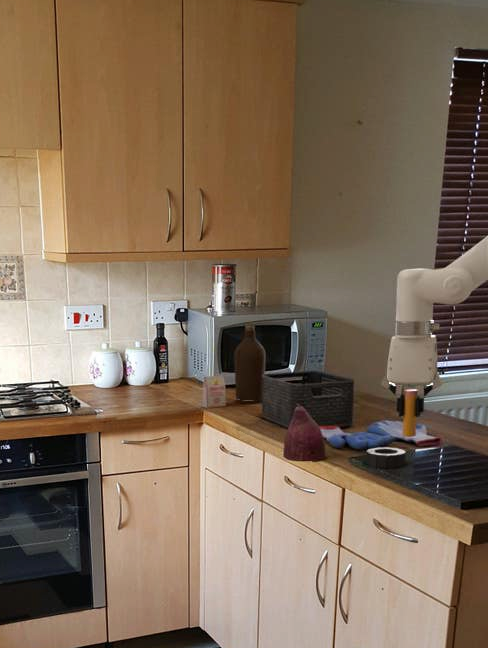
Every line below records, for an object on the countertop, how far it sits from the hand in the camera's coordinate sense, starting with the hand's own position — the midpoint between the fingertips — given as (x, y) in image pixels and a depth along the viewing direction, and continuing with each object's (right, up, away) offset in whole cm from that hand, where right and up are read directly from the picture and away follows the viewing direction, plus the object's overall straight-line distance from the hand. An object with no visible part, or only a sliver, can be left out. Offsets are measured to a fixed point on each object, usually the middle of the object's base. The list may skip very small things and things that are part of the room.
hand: (409, 414), depth 192 cm
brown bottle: (-25, +22, +107) cm, 112 cm away
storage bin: (-12, +9, +68) cm, 70 cm away
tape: (-2, -9, +15) cm, 17 cm away
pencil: (0, -4, +1) cm, 5 cm away
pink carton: (-37, +19, +99) cm, 108 cm away
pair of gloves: (+3, 0, +40) cm, 40 cm away
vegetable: (-19, -7, +24) cm, 31 cm away
